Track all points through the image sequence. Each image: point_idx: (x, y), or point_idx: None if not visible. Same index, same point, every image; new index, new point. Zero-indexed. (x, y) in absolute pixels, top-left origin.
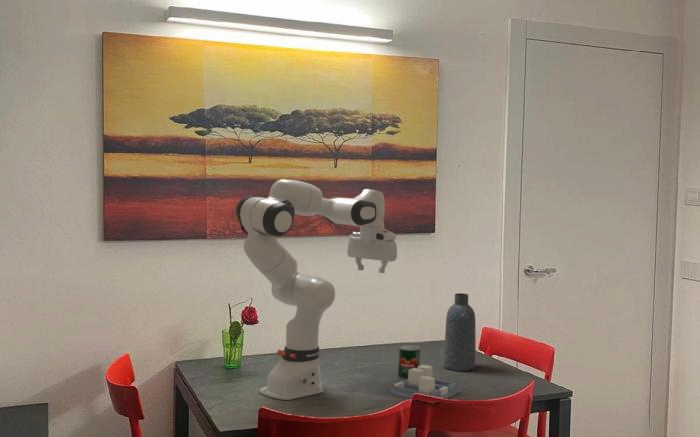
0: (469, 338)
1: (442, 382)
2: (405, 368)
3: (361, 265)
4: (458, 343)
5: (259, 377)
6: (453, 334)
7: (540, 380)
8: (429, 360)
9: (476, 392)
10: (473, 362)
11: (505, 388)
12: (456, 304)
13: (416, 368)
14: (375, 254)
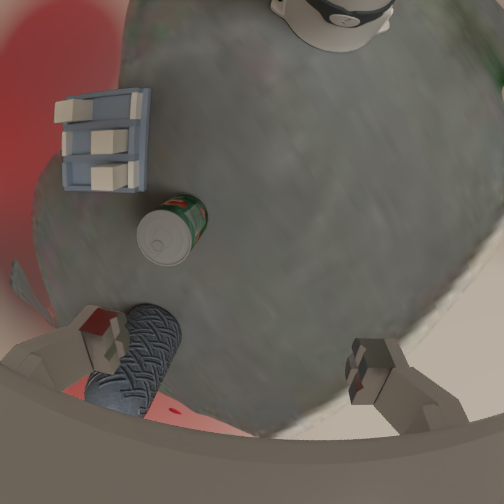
0: None
1: (88, 185)
2: (172, 199)
3: (372, 388)
4: None
5: (438, 40)
6: None
7: (47, 317)
8: (222, 341)
9: (56, 207)
10: None
11: (45, 255)
12: None
13: (106, 152)
14: (30, 455)
